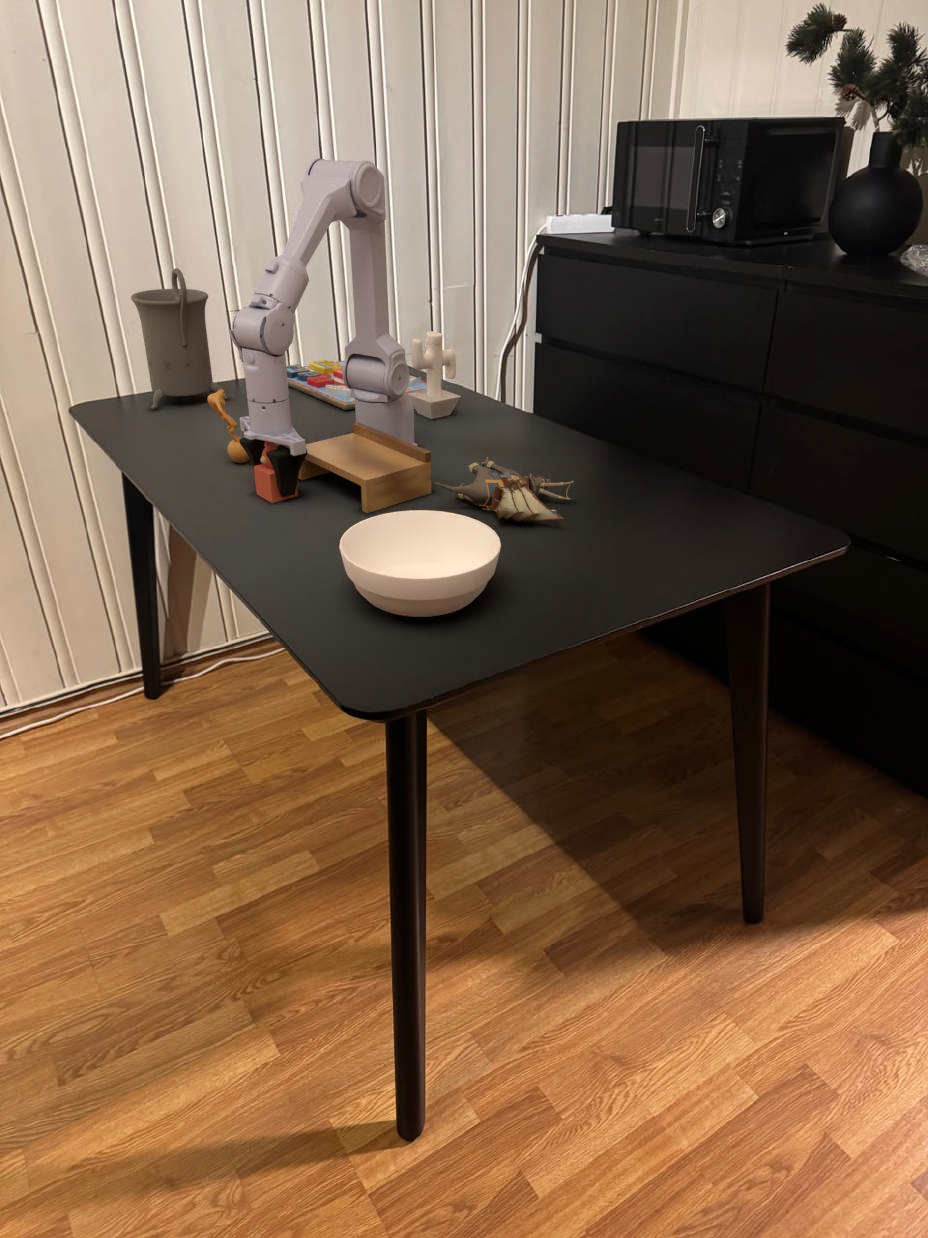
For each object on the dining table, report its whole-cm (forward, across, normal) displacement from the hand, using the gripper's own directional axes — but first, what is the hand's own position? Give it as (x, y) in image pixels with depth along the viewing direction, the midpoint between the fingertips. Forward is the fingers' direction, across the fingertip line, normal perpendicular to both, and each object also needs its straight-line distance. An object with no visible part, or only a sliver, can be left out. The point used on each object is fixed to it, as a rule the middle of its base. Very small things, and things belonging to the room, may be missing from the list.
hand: (277, 489), depth 128 cm
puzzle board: (+1, -42, +44) cm, 61 cm away
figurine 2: (+1, -16, +44) cm, 47 cm away
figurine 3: (+1, +27, +22) cm, 35 cm away
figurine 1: (+1, -16, +2) cm, 16 cm away
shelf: (+1, +5, +12) cm, 13 cm away
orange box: (+1, 0, 0) cm, 1 cm away
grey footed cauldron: (+1, -53, +12) cm, 54 cm away
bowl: (+1, +38, -4) cm, 38 cm away
